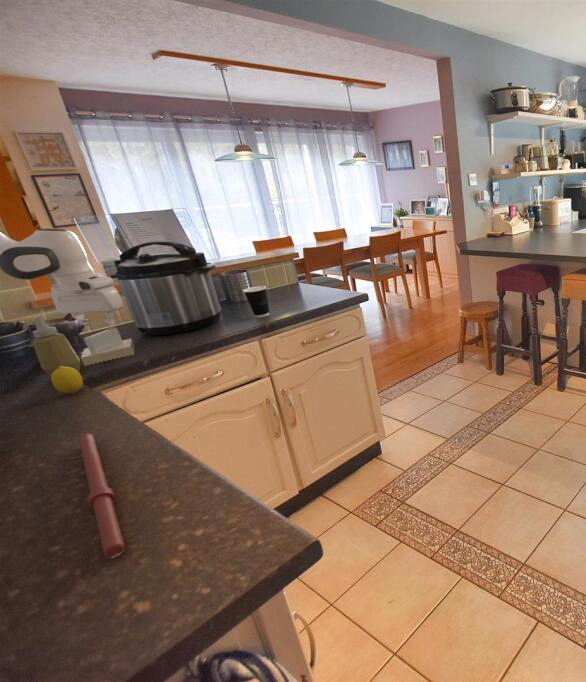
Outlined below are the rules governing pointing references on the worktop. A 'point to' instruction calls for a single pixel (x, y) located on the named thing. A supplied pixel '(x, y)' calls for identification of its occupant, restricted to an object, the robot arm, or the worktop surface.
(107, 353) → the block
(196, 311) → the pressure cooker
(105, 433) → the worktop surface
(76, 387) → the lemon
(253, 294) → the dixie cup
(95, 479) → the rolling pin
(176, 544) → the worktop surface
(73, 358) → the squeeze bottle
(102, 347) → the light grey rectangular block
